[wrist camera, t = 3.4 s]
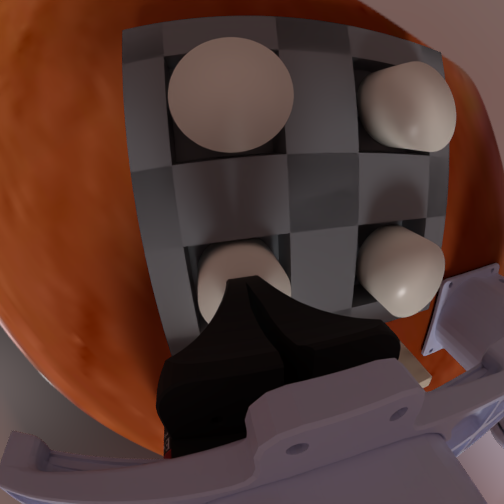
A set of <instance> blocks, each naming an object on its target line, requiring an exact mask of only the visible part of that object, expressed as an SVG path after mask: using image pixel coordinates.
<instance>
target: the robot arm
mask: <svg viewBox="0 0 504 504" xmlns="http://www.w3.org/2000/svg"><path fill="white" fill-rule="evenodd" d="M498 271H499V264H498V263H494V264H491V265H488V266H485V267H482V268H479V269H476V270H473V271H470V272H467V273H464V274H460V275H457V276H454V277H451V278H447V279H445V280H443V281H442V283H441V285H440V290H439V294H438V298H437V302H436V306H435V310H434V313H433V317H432V320H431V324H430V327H429V330H428V334H427V337H426V340H425V343H424V346H423V349H422V355H423V356H427V355H429V354H431V353H433V352H436V351H438V350H440V349H442V348H444V349H446V350H447V351H448V352H449V353H450V354H451V355H452V356H453V357H454V358H455V359H456V360H457V361H458V362H459V364H460V365H461V366H462V367H463V368H464V369H465V370H466V372H465V373H463V374H461V375H460V376H458V377H456V378H455V379H453V380H451V381H449V382H447V383H446V384H444V385H442V386H440V387H438V388H436V389H434V390H432V391H429V392H425V391H424V389H423V388H422V387H421V386H420V384H419V383H418V382H417V381H416V379H415V378H414V377H413V376H412V375H411V373H410V372H409V371H408V370H407V369H406V367H405V366H404V365H403V364H402V363H401V362H399V361H398V359H399V355H400V350H401V345H400V340H399V339H398V337H397V336H396V334H395V333H394V332H393V331H392V330H391V329H390V328H389V327H388V326H387V325H386V324H385V323H384V322H383V321H382V320H381V319H366V318H355V317H349V316H343V315H338V314H334V313H330V312H326V311H323V310H320V309H317V308H314V307H311V306H309V305H306V304H304V303H301V302H299V301H297V300H295V299H293V298H292V297H290V296H288V295H286V294H284V293H283V292H281V291H279V290H278V289H276V288H275V287H273V286H272V285H271V284H269V283H268V282H266V281H265V280H264V279H262V278H261V277H259V276H258V275H254V276H248V277H241V278H234V279H228V280H227V281H226V288H225V292H224V295H223V298H222V301H221V303H220V305H219V307H218V309H217V311H216V313H215V315H214V316H213V318H212V320H211V321H210V323H209V324H208V325H207V327H206V328H205V329H204V330H203V332H202V333H201V334H200V335H199V336H198V337H197V338H196V339H195V340H194V341H193V342H192V343H190V344H189V345H188V346H187V347H185V348H184V349H183V350H181V351H180V352H178V353H177V354H175V355H173V356H172V357H170V358H169V359H167V360H166V361H165V363H164V366H163V369H162V372H161V375H160V379H159V383H158V388H157V400H156V409H157V413H158V416H159V418H160V420H161V421H162V423H163V425H164V427H165V429H166V431H167V433H168V434H169V436H170V438H171V459H125V458H110V457H97V456H88V455H80V454H73V453H66V452H60V451H54V450H50V449H49V447H48V446H47V445H46V443H45V442H44V441H42V440H41V439H40V438H38V437H36V436H34V435H31V434H26V433H21V432H17V431H12V432H11V434H10V437H9V440H8V442H7V445H6V448H5V451H4V454H3V457H2V460H1V463H0V488H1V489H2V490H3V491H5V492H6V493H7V494H9V495H10V496H12V497H13V498H14V499H16V500H17V501H19V502H20V503H22V504H487V502H486V501H485V499H484V498H483V497H482V495H481V493H480V492H479V490H478V489H477V487H476V486H475V484H474V483H473V481H472V480H471V478H470V477H469V475H468V474H467V472H466V471H465V469H464V468H463V467H462V465H461V464H460V462H459V461H458V459H457V458H456V457H458V456H459V455H460V454H461V453H463V452H464V451H465V450H466V449H468V448H469V447H470V446H471V445H473V444H474V443H475V442H476V441H477V440H478V439H479V438H481V437H482V436H483V435H484V434H485V433H486V432H487V431H489V430H491V433H492V435H493V436H494V438H495V440H496V441H497V442H498V443H499V445H500V446H501V447H503V448H504V277H503V276H501V275H500V274H498Z"/></svg>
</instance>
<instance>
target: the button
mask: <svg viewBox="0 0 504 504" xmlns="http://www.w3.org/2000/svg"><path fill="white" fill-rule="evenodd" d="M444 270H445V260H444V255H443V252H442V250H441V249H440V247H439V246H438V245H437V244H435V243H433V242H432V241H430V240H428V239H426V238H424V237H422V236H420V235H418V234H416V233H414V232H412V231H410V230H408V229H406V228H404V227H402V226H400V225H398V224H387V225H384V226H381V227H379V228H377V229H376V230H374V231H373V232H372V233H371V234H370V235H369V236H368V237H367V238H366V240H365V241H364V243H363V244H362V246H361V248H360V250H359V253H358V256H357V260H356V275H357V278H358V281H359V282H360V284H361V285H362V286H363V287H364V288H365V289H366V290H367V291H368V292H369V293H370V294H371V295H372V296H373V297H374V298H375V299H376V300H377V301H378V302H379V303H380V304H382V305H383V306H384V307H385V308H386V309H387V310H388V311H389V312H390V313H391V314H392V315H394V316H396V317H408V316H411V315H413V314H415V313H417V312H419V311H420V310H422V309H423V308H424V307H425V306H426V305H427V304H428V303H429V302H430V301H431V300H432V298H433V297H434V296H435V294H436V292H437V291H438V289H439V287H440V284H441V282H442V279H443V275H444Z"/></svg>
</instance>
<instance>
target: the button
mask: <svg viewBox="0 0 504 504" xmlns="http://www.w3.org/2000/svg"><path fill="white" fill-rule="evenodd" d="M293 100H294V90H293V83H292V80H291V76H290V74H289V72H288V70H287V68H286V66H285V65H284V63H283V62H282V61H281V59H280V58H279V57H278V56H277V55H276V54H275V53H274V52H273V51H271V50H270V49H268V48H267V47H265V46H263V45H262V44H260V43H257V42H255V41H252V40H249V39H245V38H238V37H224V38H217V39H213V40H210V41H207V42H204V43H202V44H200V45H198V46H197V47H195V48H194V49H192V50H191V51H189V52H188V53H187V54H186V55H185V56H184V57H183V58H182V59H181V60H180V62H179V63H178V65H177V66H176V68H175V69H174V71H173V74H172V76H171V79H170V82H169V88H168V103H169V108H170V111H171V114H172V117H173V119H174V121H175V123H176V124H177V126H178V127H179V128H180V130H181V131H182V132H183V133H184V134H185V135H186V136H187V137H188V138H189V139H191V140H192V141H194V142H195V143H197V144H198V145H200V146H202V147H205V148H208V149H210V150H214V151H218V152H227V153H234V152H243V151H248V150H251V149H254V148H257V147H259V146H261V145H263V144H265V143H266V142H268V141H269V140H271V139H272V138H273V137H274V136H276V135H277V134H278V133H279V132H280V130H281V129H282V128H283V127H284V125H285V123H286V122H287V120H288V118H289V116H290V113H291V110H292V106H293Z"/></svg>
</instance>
